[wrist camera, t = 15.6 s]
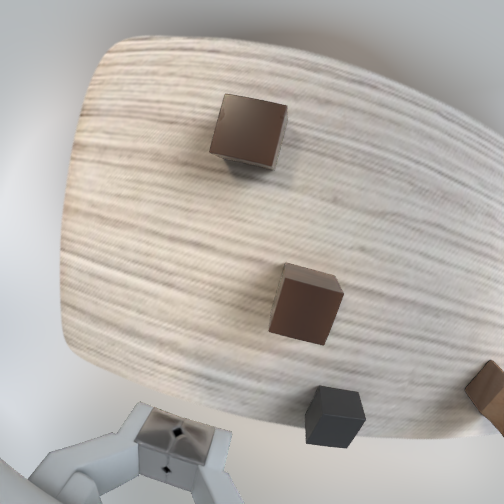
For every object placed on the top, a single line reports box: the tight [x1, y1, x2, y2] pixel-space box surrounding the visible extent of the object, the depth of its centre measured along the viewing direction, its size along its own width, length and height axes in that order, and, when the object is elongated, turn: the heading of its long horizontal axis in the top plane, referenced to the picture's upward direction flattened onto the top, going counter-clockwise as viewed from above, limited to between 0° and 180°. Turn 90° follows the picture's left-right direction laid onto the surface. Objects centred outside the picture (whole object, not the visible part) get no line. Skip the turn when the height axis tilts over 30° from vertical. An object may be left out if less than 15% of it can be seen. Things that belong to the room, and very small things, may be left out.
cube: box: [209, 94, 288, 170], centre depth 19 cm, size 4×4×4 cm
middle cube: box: [269, 263, 344, 345], centre depth 21 cm, size 4×4×4 cm
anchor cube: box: [305, 386, 366, 448], centre depth 23 cm, size 4×4×4 cm
